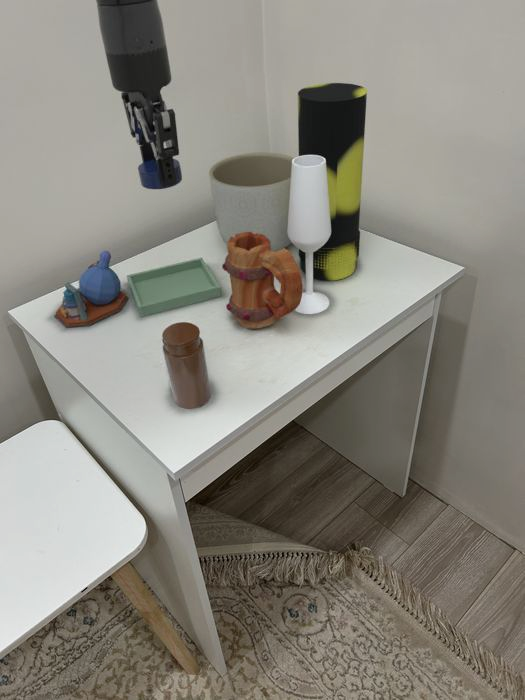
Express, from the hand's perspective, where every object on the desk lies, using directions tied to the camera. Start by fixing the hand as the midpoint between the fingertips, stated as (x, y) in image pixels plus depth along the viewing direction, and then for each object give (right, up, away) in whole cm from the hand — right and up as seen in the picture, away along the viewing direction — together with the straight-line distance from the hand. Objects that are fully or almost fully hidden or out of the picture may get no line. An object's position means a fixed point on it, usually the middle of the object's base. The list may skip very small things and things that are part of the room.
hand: (160, 176), depth 78 cm
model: (-15, -18, +17) cm, 28 cm away
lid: (0, +1, -1) cm, 1 cm away
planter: (+14, -4, +31) cm, 34 cm away
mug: (+15, -21, +10) cm, 28 cm away
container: (+27, -10, +23) cm, 36 cm away
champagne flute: (+22, -17, +14) cm, 31 cm away
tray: (-1, -14, +19) cm, 24 cm away
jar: (+5, -31, -2) cm, 31 cm away
